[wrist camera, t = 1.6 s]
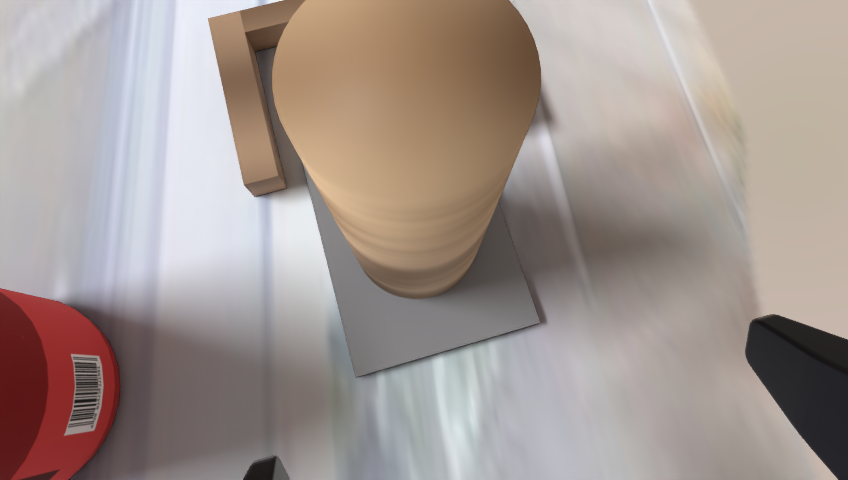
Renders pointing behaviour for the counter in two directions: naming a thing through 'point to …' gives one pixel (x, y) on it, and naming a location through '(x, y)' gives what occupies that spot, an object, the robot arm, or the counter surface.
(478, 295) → the slate mat
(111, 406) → the canned food
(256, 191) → the walnut frame
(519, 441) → the counter surface
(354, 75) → the pepper mill
